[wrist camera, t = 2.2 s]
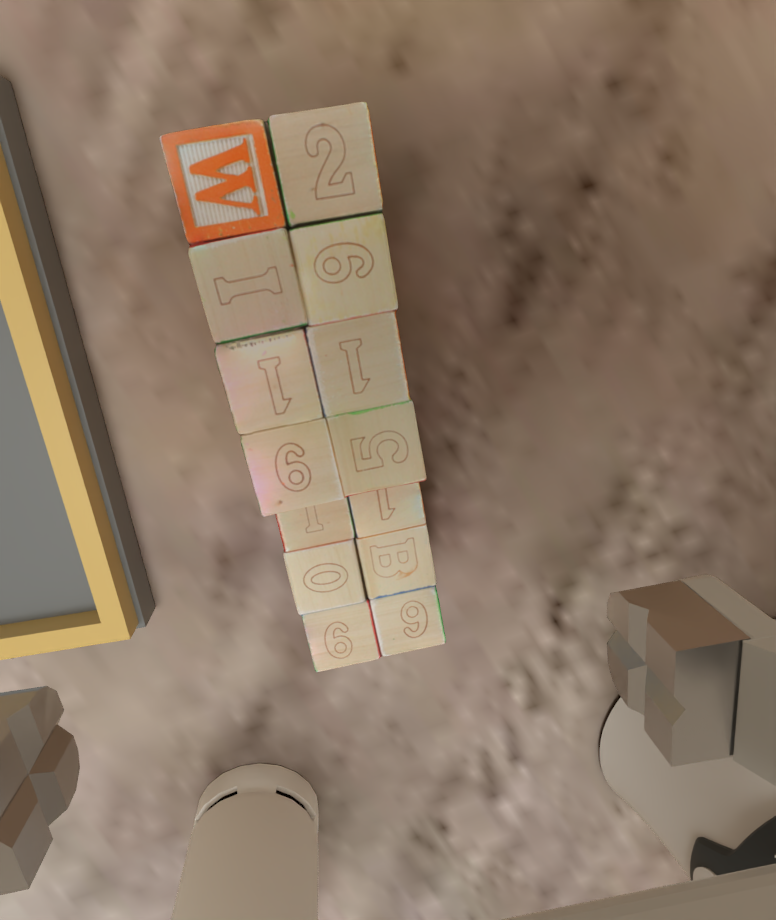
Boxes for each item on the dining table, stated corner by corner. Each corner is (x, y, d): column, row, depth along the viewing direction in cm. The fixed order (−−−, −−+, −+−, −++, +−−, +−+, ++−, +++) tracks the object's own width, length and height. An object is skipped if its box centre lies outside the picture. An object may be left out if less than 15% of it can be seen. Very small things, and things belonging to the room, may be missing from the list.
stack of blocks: (415, 555, 35) (462, 692, 24) (313, 576, 35) (309, 725, 23) (350, 169, 29) (370, 93, 17) (223, 191, 28) (154, 128, 17)
